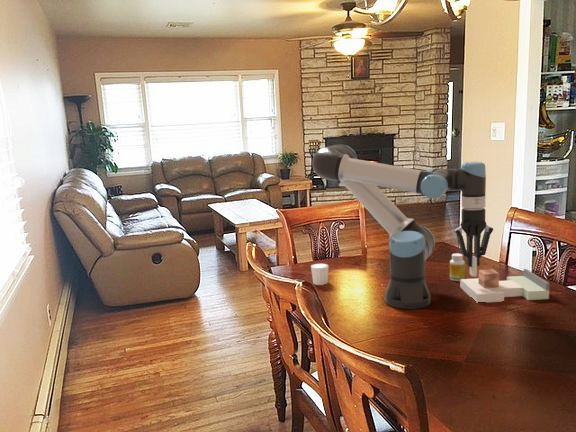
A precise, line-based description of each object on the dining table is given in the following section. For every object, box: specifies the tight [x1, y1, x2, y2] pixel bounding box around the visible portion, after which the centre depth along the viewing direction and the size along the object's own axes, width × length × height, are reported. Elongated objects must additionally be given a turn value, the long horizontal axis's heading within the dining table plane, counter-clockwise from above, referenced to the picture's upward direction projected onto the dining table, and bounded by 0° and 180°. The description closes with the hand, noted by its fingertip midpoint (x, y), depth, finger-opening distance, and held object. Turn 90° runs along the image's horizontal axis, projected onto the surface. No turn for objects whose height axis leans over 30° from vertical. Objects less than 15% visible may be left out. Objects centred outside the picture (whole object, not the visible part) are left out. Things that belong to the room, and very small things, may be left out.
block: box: [478, 268, 500, 288], centre depth 173 cm, size 5×5×5 cm
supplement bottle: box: [449, 252, 466, 282], centre depth 190 cm, size 5×5×10 cm
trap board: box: [459, 268, 550, 304], centre depth 174 cm, size 24×16×6 cm, turn 91°
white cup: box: [310, 263, 329, 286], centre depth 195 cm, size 7×7×7 cm
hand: (473, 275), depth 173 cm, fingers closed
